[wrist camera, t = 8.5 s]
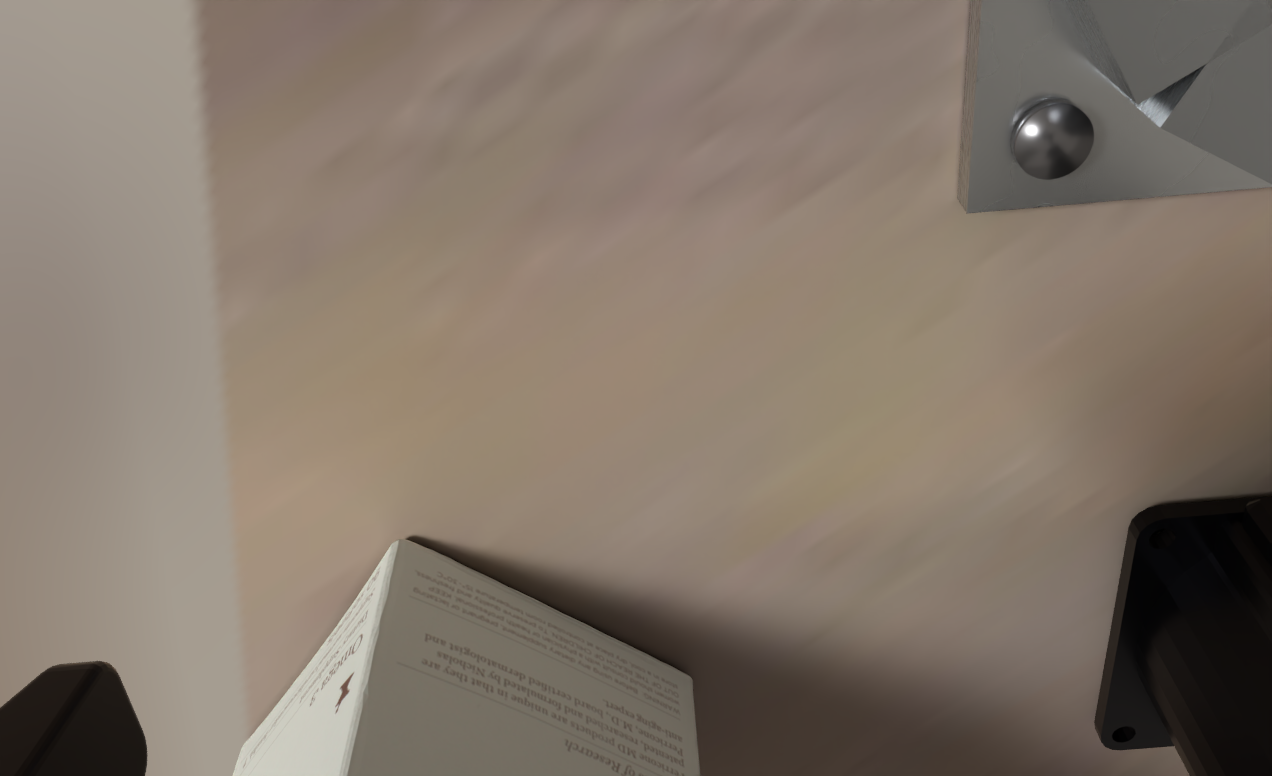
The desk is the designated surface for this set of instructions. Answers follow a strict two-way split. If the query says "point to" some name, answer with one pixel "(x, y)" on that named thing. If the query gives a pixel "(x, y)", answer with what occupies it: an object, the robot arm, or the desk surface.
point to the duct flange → (1114, 101)
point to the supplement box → (472, 689)
